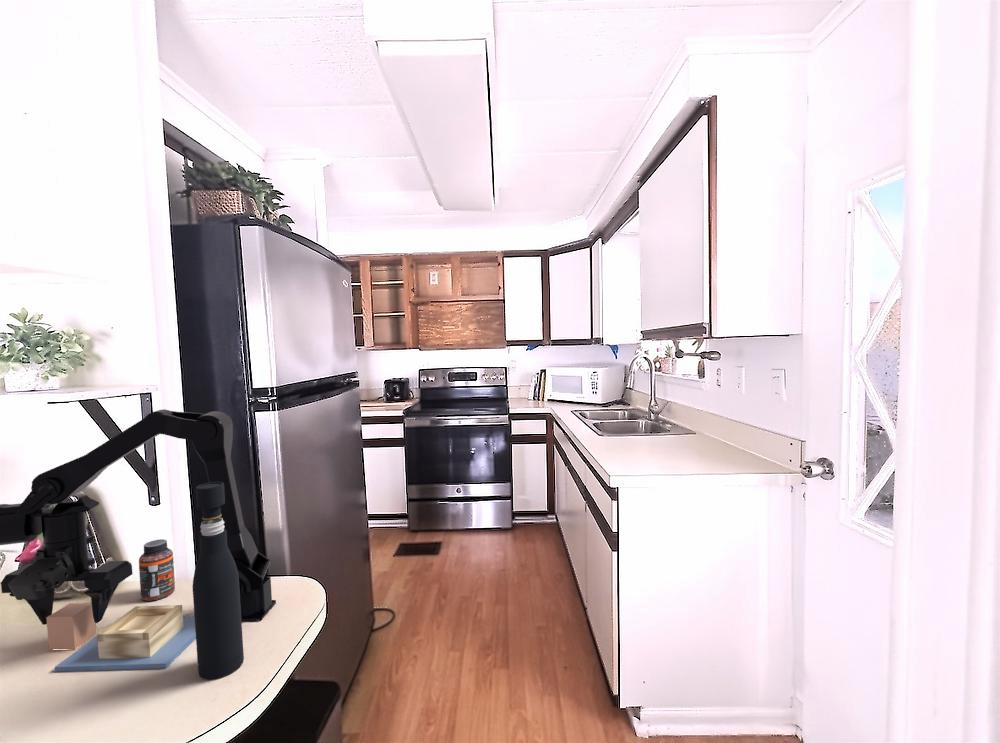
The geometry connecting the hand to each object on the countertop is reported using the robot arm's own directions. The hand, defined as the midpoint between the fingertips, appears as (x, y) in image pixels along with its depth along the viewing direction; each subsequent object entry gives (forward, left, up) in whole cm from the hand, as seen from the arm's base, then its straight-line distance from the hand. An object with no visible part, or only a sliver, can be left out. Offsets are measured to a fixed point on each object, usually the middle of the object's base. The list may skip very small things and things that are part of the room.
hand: (72, 622), depth 86 cm
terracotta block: (0, 0, -4) cm, 4 cm away
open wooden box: (-14, +2, -4) cm, 14 cm away
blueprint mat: (-13, +1, -4) cm, 13 cm away
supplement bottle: (-4, -16, -4) cm, 17 cm away
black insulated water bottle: (-31, +8, -4) cm, 32 cm away
